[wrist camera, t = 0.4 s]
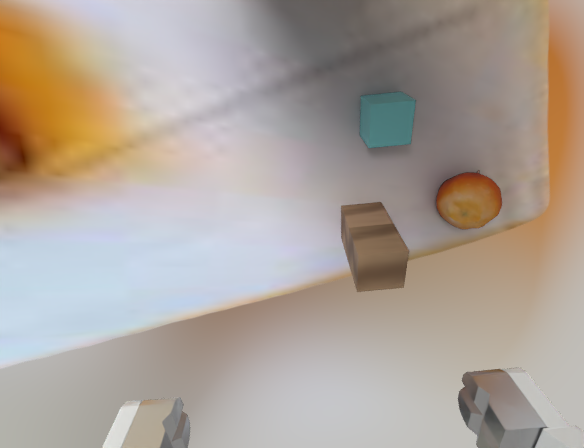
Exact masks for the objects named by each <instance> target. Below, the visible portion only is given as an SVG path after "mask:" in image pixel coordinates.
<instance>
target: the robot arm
mask: <svg viewBox="0 0 584 448" xmlns="http://www.w3.org/2000/svg"><path fill="white" fill-rule="evenodd" d="M462 382H463V384H464V386H465V387H464V388H463V389H461V390H460V391H459V396H458V402H459V408H460V412H461V415H462V417H463V419H464V421H465V423H466V425H467V427H468V428H469V429H470V430H472V431H473V432H474V433H475V434H477V443H476V445H477V447H478V448H584V430H582V429H580V428H579V427H577V426H570V425H569V424H568V423H567V421H566V420H565V419H564V418H563V416H562V415H561V414H560V413H559V412H558V410H557V409H556V408H555V407H554V405H553V404H552V403H551V402H550V400H549V399H548V398H547V397H546V396H545V394H544V393H543V392H542V391H541V389H540V388H539V387H538V386H537V384H536V383H535V382H534V381H533V380H532V378H531V377H530V376H529V375H528V373H527V372H526V371H525V370H523V369H522V368H509V369H494V370H484V371H474V372H466V373H465V374H464V375H463V378H462ZM182 409H183V402H182V400H181V398H168V399H154V400H138V401H127V402H125V404H124V405H123V406H122V407H121V408H120V411H119V413H118V415H117V417H116V419H115V421H114V424H113V425H112V428H111V430H110V432H109V434H108V436H107V438H106V440H105V442H104V444H103V447H102V448H188V443H189V437H190V422H189V418H188V415H187V414H186V413H184V412H183V411H182Z"/></svg>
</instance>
